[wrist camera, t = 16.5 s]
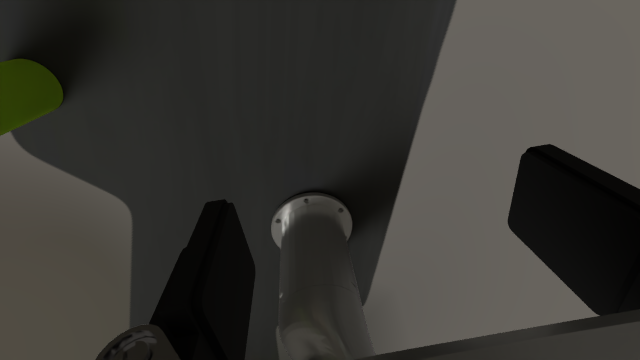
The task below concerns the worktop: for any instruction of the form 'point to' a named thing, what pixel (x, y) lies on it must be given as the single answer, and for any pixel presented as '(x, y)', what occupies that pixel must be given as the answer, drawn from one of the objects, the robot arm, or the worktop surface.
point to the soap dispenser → (26, 93)
